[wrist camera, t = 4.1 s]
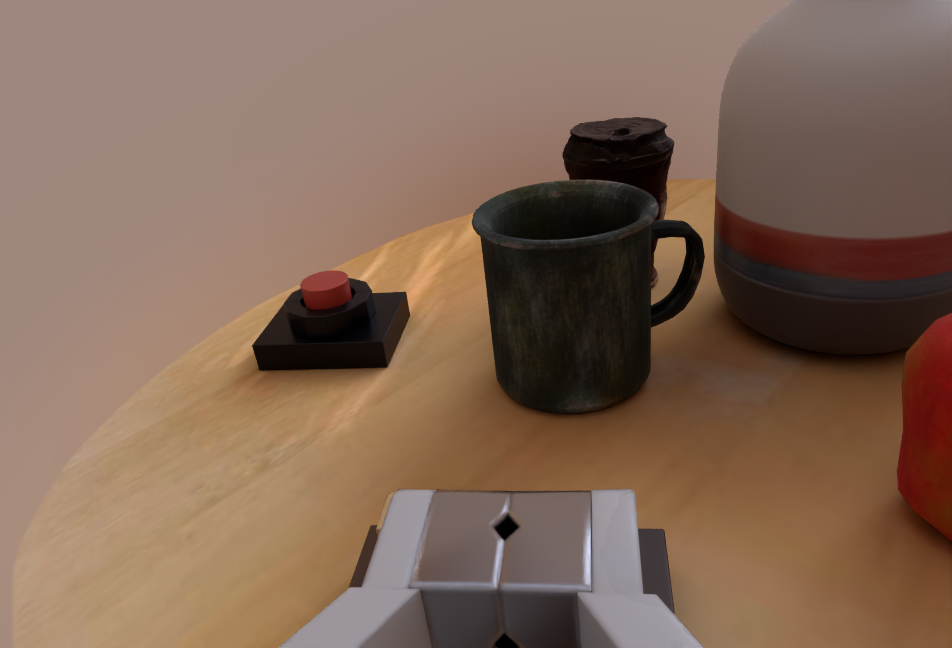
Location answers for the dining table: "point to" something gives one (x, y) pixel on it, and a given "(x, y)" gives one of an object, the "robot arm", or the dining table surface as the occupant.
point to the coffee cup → (623, 158)
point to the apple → (928, 427)
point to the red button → (326, 290)
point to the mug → (577, 290)
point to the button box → (334, 332)
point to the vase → (838, 175)
